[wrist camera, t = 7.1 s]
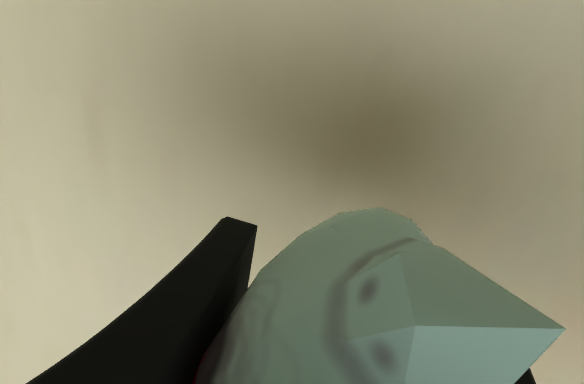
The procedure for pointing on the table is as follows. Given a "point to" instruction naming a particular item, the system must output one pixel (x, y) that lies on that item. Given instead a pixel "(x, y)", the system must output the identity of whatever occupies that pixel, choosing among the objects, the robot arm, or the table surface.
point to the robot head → (374, 314)
